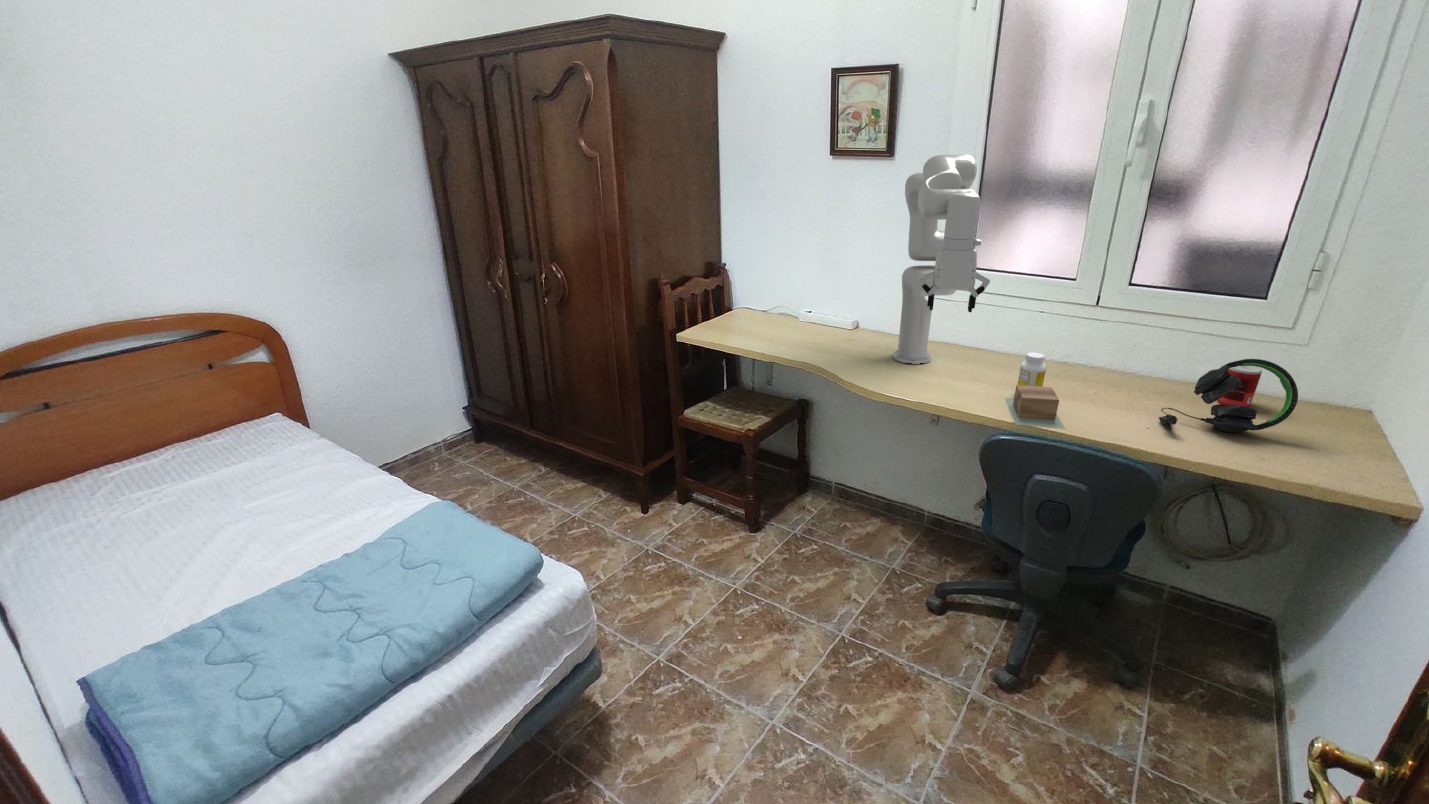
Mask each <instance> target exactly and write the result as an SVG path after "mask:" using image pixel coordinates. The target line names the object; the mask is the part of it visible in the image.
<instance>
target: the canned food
mask: <svg viewBox="0 0 1429 804" xmlns="http://www.w3.org/2000/svg"><path fill="white" fill-rule="evenodd" d="M1228 372H1229V373H1230V375H1234V374H1235V376H1237V377H1238V378H1239V379H1240V380H1241V384H1240V385H1239V386H1238V387H1237V388H1236V389H1234V390H1231V391H1229V392H1228V393H1226V394H1225V395H1224V396H1223V397H1221V398H1220V399H1218V400H1217V401H1216V402H1218V404H1224V405H1240V406H1246V407H1251V405H1252V401H1253V399H1254V397H1255V393H1256V390H1257V389H1258V388H1257V387H1258V385H1259V382H1260V379H1261V378H1262V377H1261V376H1262V373H1263V368H1261V367H1256V366H1237V367H1232V368H1229V370H1228Z"/></svg>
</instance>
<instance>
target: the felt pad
mask: <svg viewBox="0 0 1429 804" xmlns="http://www.w3.org/2000/svg"><path fill="white" fill-rule="evenodd" d="M1004 399H1005V402H1006V404H1007V407H1008V409H1009V410H1008V411H1009V412H1010V415H1011V418H1012V419H1013V422H1014V424H1015V426H1027V427H1040V428H1055V429H1066V426H1064V424H1063V422H1062V420H1061V418H1060V417H1059V415H1058V413H1056V418H1055V421H1054V420H1040V419H1027V418H1019V417H1018V415H1017V413H1016V410H1015V408H1014V406H1013V402H1014V398H1013V397H1012V398H1011V397H1005V398H1004Z"/></svg>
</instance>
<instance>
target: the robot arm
mask: <svg viewBox="0 0 1429 804" xmlns="http://www.w3.org/2000/svg"><path fill="white" fill-rule="evenodd" d="M977 165H978V164H977V162H976V160H975V158H974V156H972V155H970V154H939V155H938V154H937V155H934V156H932V157H929V159H927V160H926V161H925V163H924V165H923V167H922V172H916V173H913V174H911V175H910V176H908V177H907V179H906V181H905V185H904V191H905V192H904V197H905V202H906V206H907V209H908V214H909V226H908V227H909V230H908V243H907V244H908V245H907V247H908V248H907V249H908V252H907V253H908V257H909V258H910V259H911V260H913V261H916V262H935V264H934V265H930V264H929V265H925V264H924V265H922V264H921V265H911V266H909V267H907V268H906V269H905V268H904V270H903V272H902V275H901V291H902V297H901V298H902V305H901V313H900V323H899V334H898V344H897V350H896V351H894V352H892V359H893V360H895V361H896V362H898V361H899V363H901V362H902V363H903V364H906V363H912V364H911V365H921V364H920V363H924V364H927V363H929V362H931V360H932V356H931V354H930V353H928V344H929V336H930V327H931V320H932V319H931V318H932V312H933V310H934V301H935V296H951V295H954V294H955V293H956V291H957V290H959V291H960V290H961V291H968V292H969V293H970V295H969V296H968V297H969V299H968V304H967V311H968V313H973V312H972V311H973V309H975V307H976V301H977V298H978V296H979V295H981V294H982V293H983V292H984V291H985V290H986V288H988V286H989V284H990V283H991V281H990V278H987V277H986V276H984V275H982V274H980V273H979V272H977V268H978V267H977V266H978V265H977V264H978V263H977V261H978V260H977V259H978V258H977V257H978V254H977V249H975V247H978V246H979V247H980V246H981V245H982V240H981V239H977V238H976V236H977V228H978V223H979V216H980V215H979V214H980V207H981V197H980V195H979V194H978V193H977V192H976V190H974V189H972V188H971V187H972V185H973V183H974V182H975V180H976V176H977V170H978V169H977V168H978V167H977ZM970 188H971V189H970ZM939 220H945V224H944V230H938V221H939ZM976 280H978V281H980V282H982V283H981V284H980V286H978V287H977V288H975V284H976ZM927 296H928V297H927ZM926 297H927V299H926Z"/></svg>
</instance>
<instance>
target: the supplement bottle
mask: <svg viewBox="0 0 1429 804" xmlns="http://www.w3.org/2000/svg"><path fill="white" fill-rule="evenodd" d="M1044 360H1045V355H1044V354H1042V353H1040V352H1032V351H1031V352H1030V351H1029V352H1026V355H1025V360H1024V361H1022V363H1021V364H1020V368H1019V374H1018V379H1017V384H1016V385H1026V386H1041V387H1044V386H1043V385H1044V382H1045V375H1046V372H1047V371H1046V370H1047V366H1046V364H1045V362H1044Z"/></svg>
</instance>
